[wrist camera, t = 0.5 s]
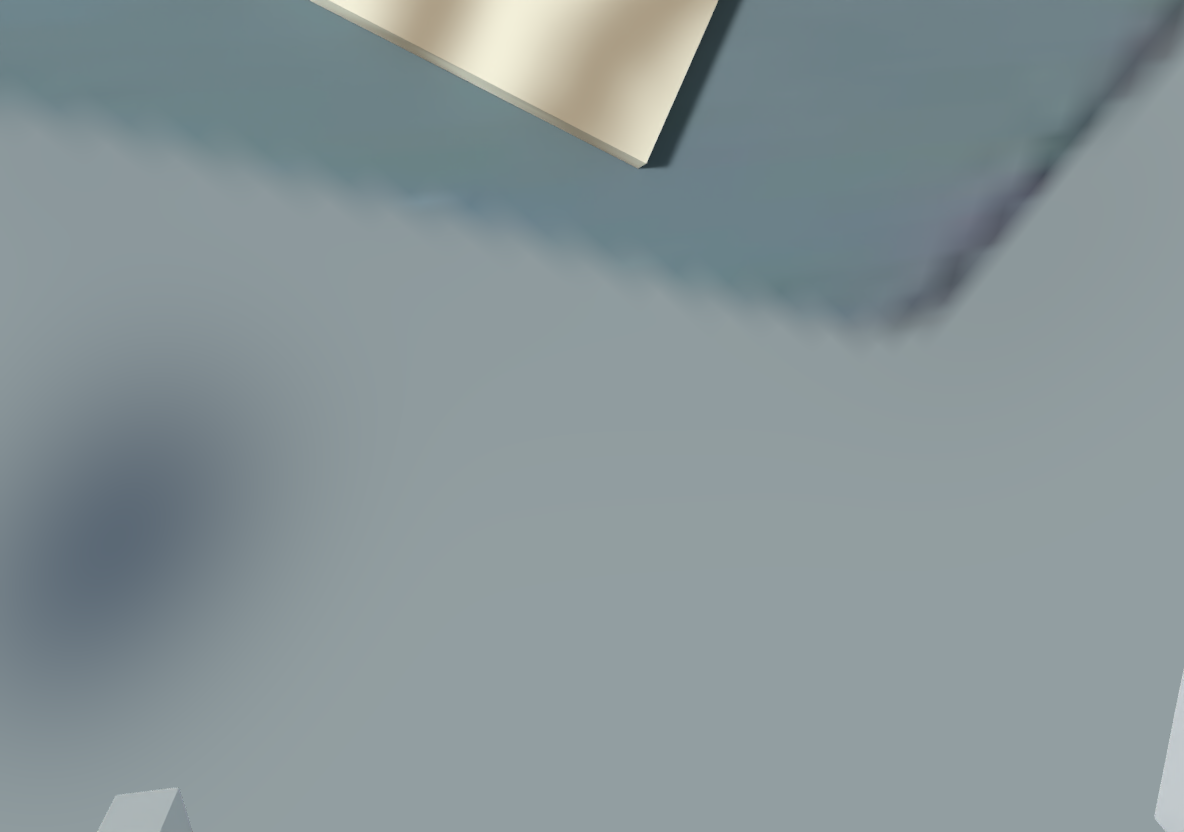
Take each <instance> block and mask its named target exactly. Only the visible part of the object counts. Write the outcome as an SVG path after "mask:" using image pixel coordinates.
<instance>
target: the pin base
mask: <svg viewBox="0 0 1184 832" xmlns="http://www.w3.org/2000/svg"><path fill="white" fill-rule="evenodd" d="M310 1H312V2H314V3H316V4H318V5H320V6H322V7H324V8H325V9H327V10H329V11H331V12H333V13H335V14H337V15H339V16H341V17H343V18H345V19H347V20H349V21H351V22H353V23H355V24H357V25H359V26H361V27H363V28H365V29H367V30H368V31H370V32H372V33H374V34H376V35H378V36H380V37H382V38H384V39H386V40H388V41H390V42H392V43H394V44H396V45H398V46H400V47H402V48H404V49H406V50H408V51H410V52H411V53H413V54H415V55H417V56H419V57H421V58H423V59H425V60H427V61H429V62H431V63H433V64H435V65H437V66H439V67H441V68H443V69H445V70H447V71H449V72H451V73H453V74H454V75H456V76H458V77H460V78H462V79H464V80H466V81H468V82H470V83H472V84H474V85H476V86H478V87H480V88H482V89H484V90H486V91H488V92H490V93H492V94H494V95H496V96H497V97H499V98H501V99H503V100H505V101H507V102H509V103H511V104H513V105H515V106H517V107H519V108H521V109H523V110H525V111H527V112H529V113H531V114H533V115H535V116H537V117H539V118H540V119H542V120H544V121H546V122H548V123H550V124H552V125H554V126H556V127H558V128H560V129H562V130H564V131H566V132H568V133H570V134H572V135H574V136H576V137H578V138H580V139H582V140H583V141H585V142H587V143H589V144H591V145H593V146H595V147H597V148H599V149H601V150H603V151H605V152H607V153H609V154H611V155H613V156H615V157H617V158H619V159H621V160H623V161H625V162H626V163H628V164H630V165H632V166H634V167H636V168H640V167H642V166H643V165H645V164H646V163H647V161H648V159H649V156H650V154H651V152H652V150H653V147H654V145H655V143H656V141H657V138H658V136H659V134H660V132H661V129H662V127H663V125H664V122H665V120H666V118H667V116H668V113H669V111H670V109H671V107H672V104H673V102H674V100H675V98H676V95H677V93H678V91H679V88H680V86H681V84H682V82H683V79H684V77H685V75H686V73H687V70H688V68H689V66H690V64H691V61H692V59H693V57H694V54H695V52H696V50H697V48H698V45H699V43H700V41H701V39H702V36H703V34H704V32H705V30H706V27H707V25H708V23H709V21H710V18H711V16H712V14H713V11H714V9H715V7H716V5H717V2H718V0H310Z"/></svg>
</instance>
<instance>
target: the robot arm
mask: <svg viewBox="0 0 1184 832" xmlns="http://www.w3.org/2000/svg"><path fill="white" fill-rule="evenodd" d="M1154 818H1155V819H1156V820H1157V822H1158V823H1159V824H1160V825H1161V826H1162V828H1163V829H1164V830H1165V831H1166V832H1184V670H1183V675H1182V680H1181V685H1180V690H1179V695H1178V700H1177V705H1176V710H1175V715H1174V720H1173V726H1172V730H1171V735H1170V741H1169V746H1168V751H1167V756H1166V761H1165V766H1164V771H1163V776H1162V781H1161V786H1160V791H1159V797H1158V801H1157V806H1156V811H1155V816H1154ZM97 832H193V831H192V828H191V825H190V821H189V818H188V815H187V812H186V808H185V805H184V802H183V799H182V795H181V792H180V789H179V787H176V788H168V789H161V790H152V791H144V792H137V793H130V794H121V795H116V796H115V798H114V800H113V802H112V804H111V806H110V808H109V809H108V811H107V813H106V815H105V818H104V819H103V821H102V823H101V825H100V827H99V829H98V831H97Z"/></svg>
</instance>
